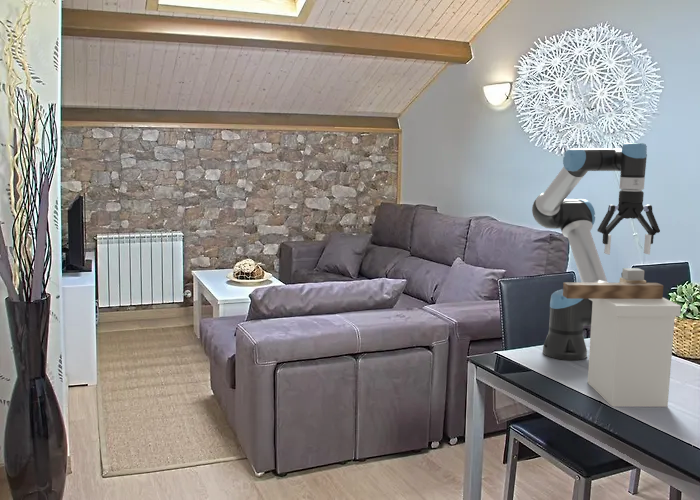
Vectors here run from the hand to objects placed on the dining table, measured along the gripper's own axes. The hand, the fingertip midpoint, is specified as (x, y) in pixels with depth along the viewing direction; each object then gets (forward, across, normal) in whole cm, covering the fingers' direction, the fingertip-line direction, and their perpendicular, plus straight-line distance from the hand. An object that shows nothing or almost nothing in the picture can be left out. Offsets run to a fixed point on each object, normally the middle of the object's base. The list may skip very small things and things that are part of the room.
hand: (626, 253), depth 227 cm
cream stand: (+38, -10, -28) cm, 49 cm away
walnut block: (+8, -16, -27) cm, 33 cm away
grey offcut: (+4, -7, -20) cm, 22 cm away
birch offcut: (+8, -7, -20) cm, 23 cm away
